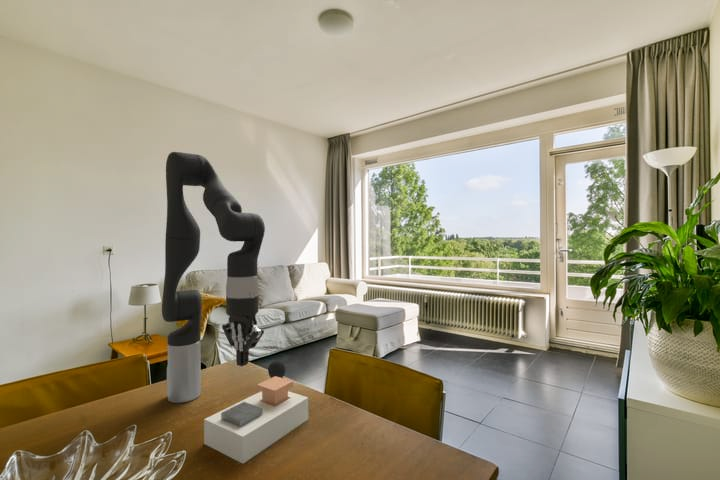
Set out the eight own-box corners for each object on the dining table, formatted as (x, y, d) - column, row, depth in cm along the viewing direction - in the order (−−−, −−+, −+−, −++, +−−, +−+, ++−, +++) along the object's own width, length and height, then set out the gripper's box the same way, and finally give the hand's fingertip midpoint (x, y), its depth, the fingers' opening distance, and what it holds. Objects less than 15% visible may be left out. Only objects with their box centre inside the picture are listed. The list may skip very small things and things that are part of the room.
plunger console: (204, 443, 84) (204, 419, 84) (271, 406, 102) (271, 386, 102) (243, 463, 76) (242, 436, 76) (308, 419, 95) (308, 397, 95)
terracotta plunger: (256, 408, 93) (256, 384, 93) (275, 398, 99) (275, 376, 99) (275, 415, 89) (274, 390, 89) (293, 404, 95) (293, 381, 95)
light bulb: (281, 396, 109) (281, 364, 109) (264, 394, 110) (264, 363, 110) (288, 388, 114) (288, 358, 114) (272, 387, 116) (272, 357, 115)
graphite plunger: (221, 439, 83) (221, 413, 83) (244, 426, 89) (244, 401, 89) (239, 448, 80) (239, 420, 80) (262, 434, 86) (262, 408, 86)
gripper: (211, 294, 85) (212, 364, 85) (248, 299, 78) (248, 376, 78) (237, 290, 91) (237, 355, 91) (273, 294, 84) (273, 365, 84)
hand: (242, 364), depth 85 cm, fingers closed
